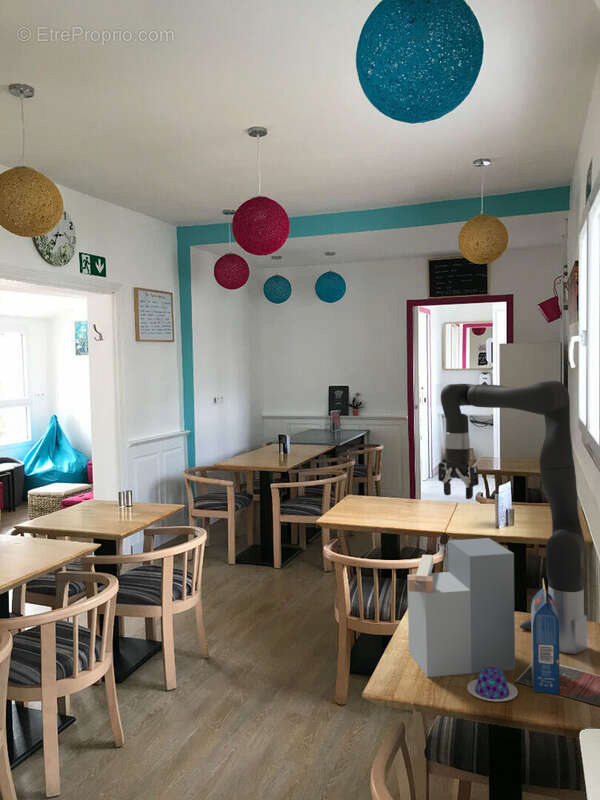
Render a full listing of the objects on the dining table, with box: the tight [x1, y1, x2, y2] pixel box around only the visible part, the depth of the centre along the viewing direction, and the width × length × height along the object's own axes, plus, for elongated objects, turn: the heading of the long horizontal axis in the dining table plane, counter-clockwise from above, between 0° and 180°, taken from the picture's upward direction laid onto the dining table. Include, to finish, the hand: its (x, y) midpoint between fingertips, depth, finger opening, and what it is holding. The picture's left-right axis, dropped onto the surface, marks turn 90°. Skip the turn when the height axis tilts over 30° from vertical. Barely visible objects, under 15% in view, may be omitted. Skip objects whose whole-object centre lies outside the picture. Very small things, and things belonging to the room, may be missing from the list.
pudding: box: [466, 667, 519, 702], centre depth 167 cm, size 12×12×5 cm
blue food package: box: [530, 578, 560, 695], centre depth 170 cm, size 6×12×25 cm, turn 163°
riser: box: [407, 537, 516, 678], centre depth 184 cm, size 16×24×31 cm, turn 98°
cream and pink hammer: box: [407, 554, 434, 593], centre depth 187 cm, size 24×6×3 cm, turn 165°
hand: (458, 496), depth 217 cm, fingers open, 8 cm apart
